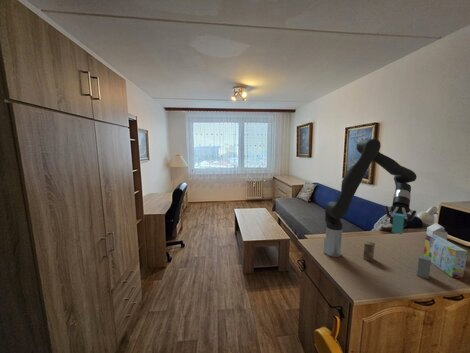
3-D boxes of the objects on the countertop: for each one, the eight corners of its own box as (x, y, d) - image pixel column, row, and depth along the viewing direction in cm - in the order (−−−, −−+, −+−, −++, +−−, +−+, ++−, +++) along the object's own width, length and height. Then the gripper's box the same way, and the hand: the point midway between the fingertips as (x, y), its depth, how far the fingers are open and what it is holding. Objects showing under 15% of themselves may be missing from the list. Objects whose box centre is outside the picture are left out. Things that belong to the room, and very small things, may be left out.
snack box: (464, 279, 102) (469, 251, 100) (451, 277, 103) (455, 250, 101) (432, 257, 122) (435, 234, 120) (422, 256, 123) (425, 233, 121)
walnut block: (363, 258, 120) (364, 243, 119) (364, 256, 124) (366, 240, 122) (372, 261, 117) (373, 245, 116) (373, 258, 121) (374, 243, 119)
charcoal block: (416, 275, 104) (418, 257, 103) (416, 271, 108) (418, 254, 106) (428, 279, 101) (431, 260, 100) (428, 275, 105) (430, 257, 103)
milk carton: (429, 253, 126) (433, 225, 124) (424, 248, 133) (427, 221, 131) (444, 256, 124) (448, 226, 121) (438, 250, 130) (442, 222, 128)
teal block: (391, 232, 110) (393, 214, 109) (392, 229, 113) (394, 212, 112) (402, 234, 107) (404, 216, 106) (402, 231, 110) (404, 214, 109)
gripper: (386, 193, 118) (381, 218, 110) (418, 197, 108) (416, 225, 101) (386, 200, 122) (381, 225, 115) (417, 205, 113) (415, 231, 105)
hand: (397, 224), depth 108 cm, fingers closed on teal block, 4 cm apart
